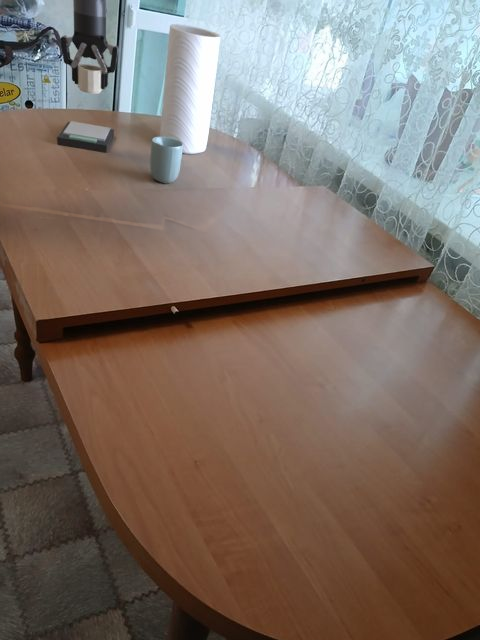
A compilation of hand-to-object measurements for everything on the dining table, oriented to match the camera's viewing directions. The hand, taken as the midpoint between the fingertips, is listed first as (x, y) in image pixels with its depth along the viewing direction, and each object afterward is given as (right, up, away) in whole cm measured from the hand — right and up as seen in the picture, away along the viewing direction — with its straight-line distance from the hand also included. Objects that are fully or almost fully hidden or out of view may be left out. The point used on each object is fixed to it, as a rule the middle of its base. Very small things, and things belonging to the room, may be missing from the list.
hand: (90, 85), depth 140 cm
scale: (-6, -9, +14) cm, 18 cm away
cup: (+19, -24, +2) cm, 30 cm away
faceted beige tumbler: (0, -1, +1) cm, 1 cm away
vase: (+20, -6, +27) cm, 34 cm away
